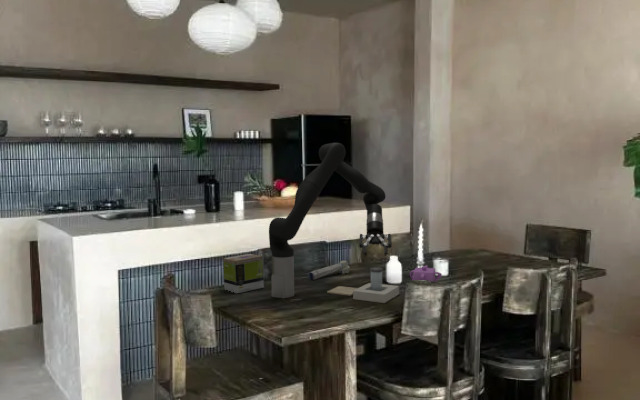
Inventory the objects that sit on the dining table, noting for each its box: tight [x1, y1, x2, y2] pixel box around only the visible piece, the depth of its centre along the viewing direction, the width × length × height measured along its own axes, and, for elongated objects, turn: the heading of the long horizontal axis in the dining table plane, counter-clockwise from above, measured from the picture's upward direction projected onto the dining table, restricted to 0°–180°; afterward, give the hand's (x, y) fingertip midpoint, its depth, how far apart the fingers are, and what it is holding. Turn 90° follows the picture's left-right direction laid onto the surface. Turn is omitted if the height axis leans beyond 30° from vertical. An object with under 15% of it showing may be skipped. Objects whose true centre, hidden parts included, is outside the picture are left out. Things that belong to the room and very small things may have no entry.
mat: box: [326, 285, 359, 297], centre depth 264 cm, size 11×11×1 cm
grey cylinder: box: [307, 260, 351, 281], centre depth 295 cm, size 5×7×25 cm
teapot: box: [409, 264, 443, 282], centre depth 266 cm, size 18×14×10 cm
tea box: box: [222, 253, 265, 294], centre depth 269 cm, size 15×10×15 cm, turn 131°
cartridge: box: [369, 266, 384, 291], centre depth 254 cm, size 6×6×12 cm
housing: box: [352, 282, 400, 304], centre depth 254 cm, size 16×14×4 cm
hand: (375, 254), depth 264 cm, fingers open, 8 cm apart
